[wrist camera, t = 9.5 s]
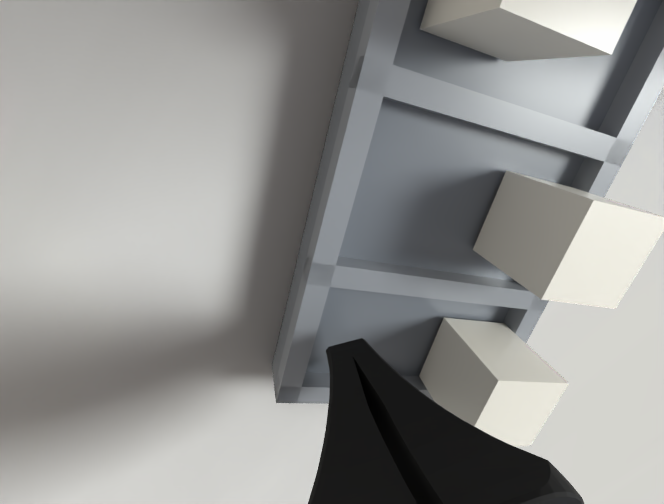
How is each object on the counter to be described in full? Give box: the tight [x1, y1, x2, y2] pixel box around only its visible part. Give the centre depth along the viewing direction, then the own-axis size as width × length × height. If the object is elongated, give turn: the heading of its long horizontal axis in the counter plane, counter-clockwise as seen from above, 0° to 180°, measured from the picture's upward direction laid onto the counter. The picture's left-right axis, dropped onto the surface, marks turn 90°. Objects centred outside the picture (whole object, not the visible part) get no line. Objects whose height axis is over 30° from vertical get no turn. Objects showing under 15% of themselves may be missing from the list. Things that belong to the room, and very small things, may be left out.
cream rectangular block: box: [473, 170, 664, 309], centre depth 12 cm, size 3×3×4 cm
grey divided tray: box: [272, 0, 664, 403], centre depth 13 cm, size 10×17×2 cm, turn 165°
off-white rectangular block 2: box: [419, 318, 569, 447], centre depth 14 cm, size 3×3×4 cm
